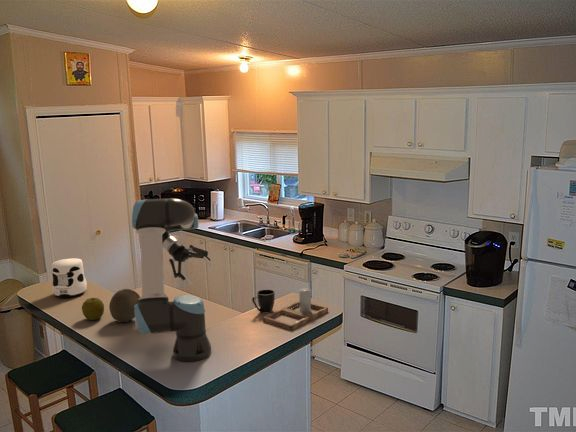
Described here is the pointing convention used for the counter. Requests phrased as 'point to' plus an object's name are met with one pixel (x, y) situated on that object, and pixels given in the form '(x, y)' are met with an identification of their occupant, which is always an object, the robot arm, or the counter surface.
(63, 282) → the white trooper helmet
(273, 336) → the counter surface
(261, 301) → the mug
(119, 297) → the cantaloupe
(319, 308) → the frame
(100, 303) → the apple
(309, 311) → the grey upright cylinder
